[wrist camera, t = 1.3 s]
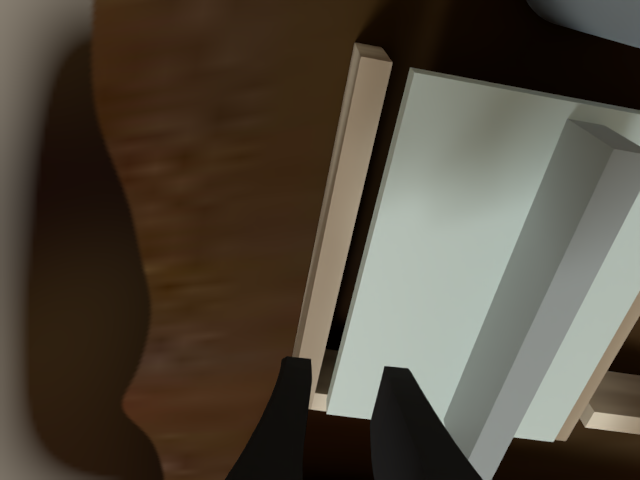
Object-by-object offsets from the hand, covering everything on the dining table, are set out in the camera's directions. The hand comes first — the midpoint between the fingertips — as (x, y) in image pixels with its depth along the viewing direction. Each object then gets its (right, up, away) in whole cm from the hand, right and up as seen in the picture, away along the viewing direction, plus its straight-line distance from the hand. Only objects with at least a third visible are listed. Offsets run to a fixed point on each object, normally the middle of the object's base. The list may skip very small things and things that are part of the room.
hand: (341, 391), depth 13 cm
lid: (+6, +2, +6) cm, 9 cm away
